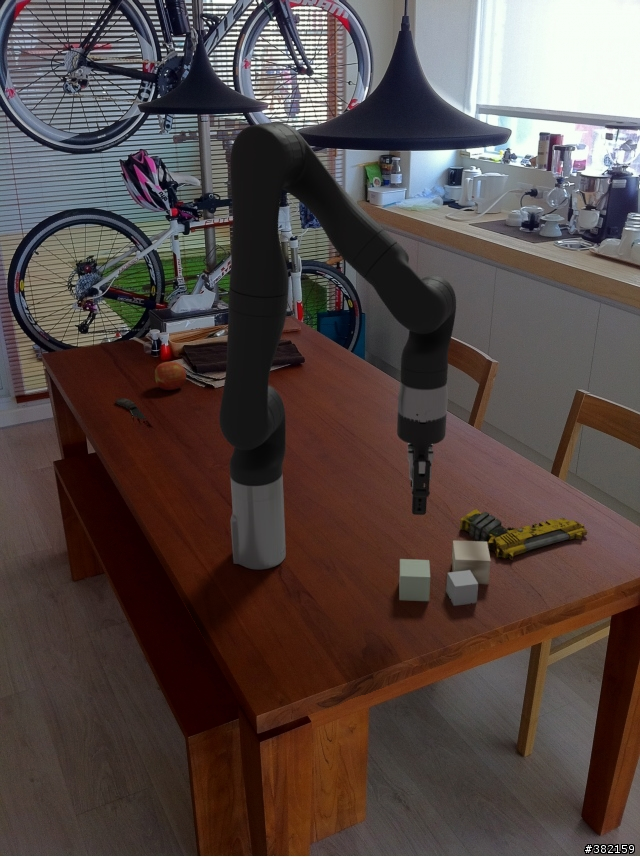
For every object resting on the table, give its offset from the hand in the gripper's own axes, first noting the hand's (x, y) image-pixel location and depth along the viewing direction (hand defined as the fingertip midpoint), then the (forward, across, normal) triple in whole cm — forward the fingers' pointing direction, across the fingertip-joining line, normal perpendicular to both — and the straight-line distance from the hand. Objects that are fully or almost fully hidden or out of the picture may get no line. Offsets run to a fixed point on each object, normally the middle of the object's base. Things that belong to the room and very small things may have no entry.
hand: (417, 500), depth 128 cm
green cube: (+18, 0, 0) cm, 18 cm away
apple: (+18, -90, -65) cm, 113 cm away
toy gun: (+19, -20, +21) cm, 35 cm away
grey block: (+18, +1, +8) cm, 20 cm away
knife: (+19, -69, -69) cm, 100 cm away
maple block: (+18, -6, +10) cm, 21 cm away
